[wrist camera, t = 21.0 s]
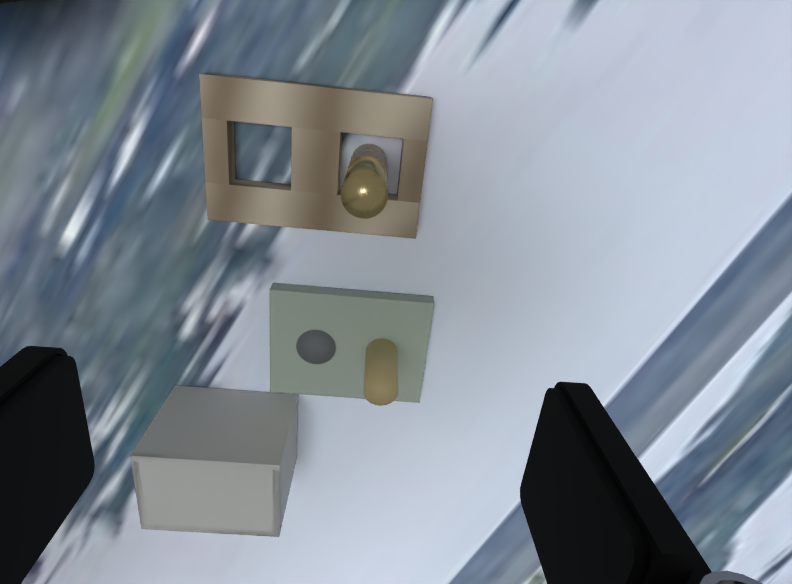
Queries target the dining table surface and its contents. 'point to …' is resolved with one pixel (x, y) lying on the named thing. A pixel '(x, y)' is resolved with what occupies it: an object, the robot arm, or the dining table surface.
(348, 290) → the pad
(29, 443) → the robot arm
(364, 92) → the board
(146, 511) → the block
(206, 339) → the dining table surface
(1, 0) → the ceramic cup
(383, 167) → the brass pin
